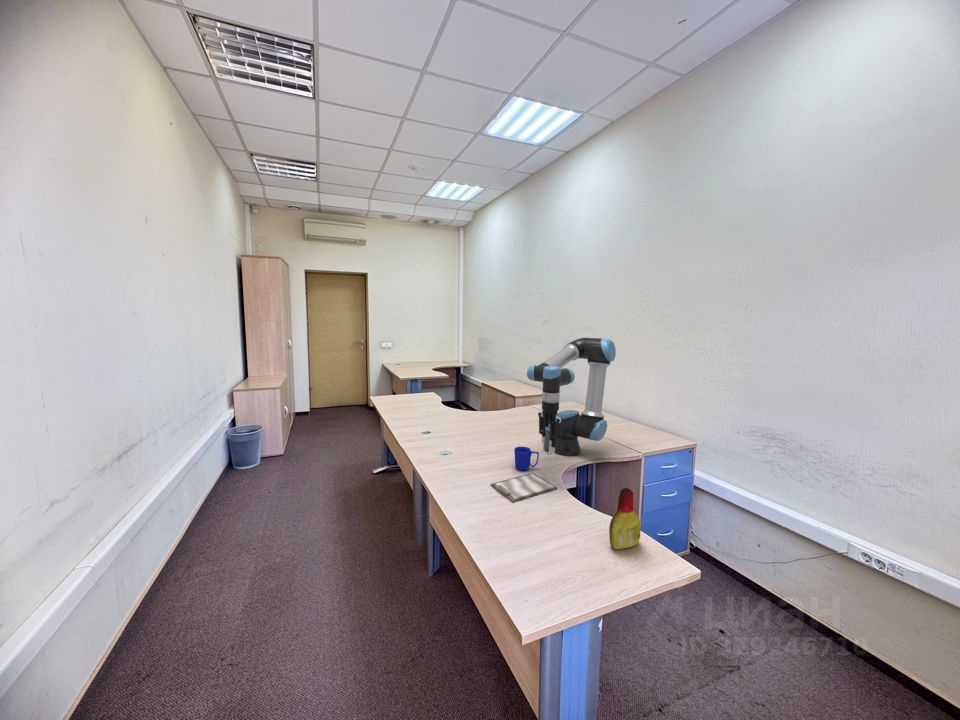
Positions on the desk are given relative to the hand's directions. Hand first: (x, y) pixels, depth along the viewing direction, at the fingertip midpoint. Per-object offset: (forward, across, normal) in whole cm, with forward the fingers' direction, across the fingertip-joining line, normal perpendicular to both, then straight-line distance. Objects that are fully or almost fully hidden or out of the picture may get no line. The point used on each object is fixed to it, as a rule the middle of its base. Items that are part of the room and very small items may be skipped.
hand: (548, 452), depth 163 cm
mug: (+15, -17, +2) cm, 23 cm away
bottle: (+15, +47, -9) cm, 50 cm away
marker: (+1, 0, 0) cm, 1 cm away
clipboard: (+15, -2, -12) cm, 19 cm away
